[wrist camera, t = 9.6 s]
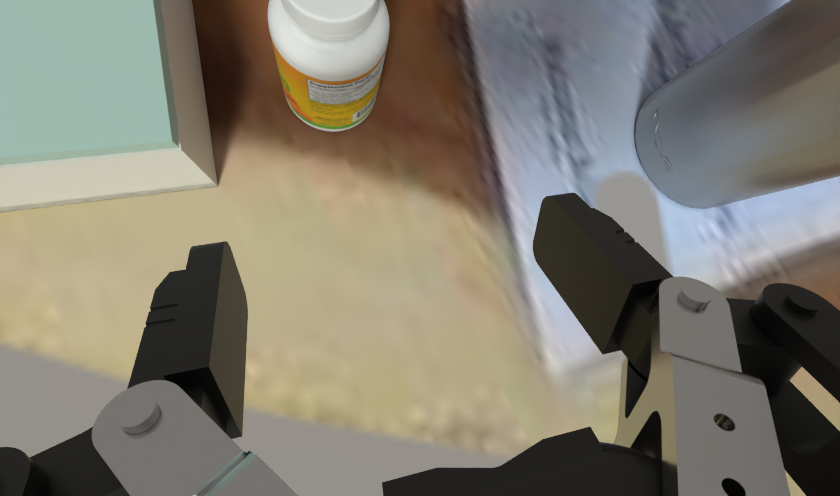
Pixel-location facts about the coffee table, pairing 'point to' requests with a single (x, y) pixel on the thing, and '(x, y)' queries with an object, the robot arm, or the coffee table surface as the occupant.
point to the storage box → (135, 169)
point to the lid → (83, 79)
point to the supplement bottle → (330, 57)
